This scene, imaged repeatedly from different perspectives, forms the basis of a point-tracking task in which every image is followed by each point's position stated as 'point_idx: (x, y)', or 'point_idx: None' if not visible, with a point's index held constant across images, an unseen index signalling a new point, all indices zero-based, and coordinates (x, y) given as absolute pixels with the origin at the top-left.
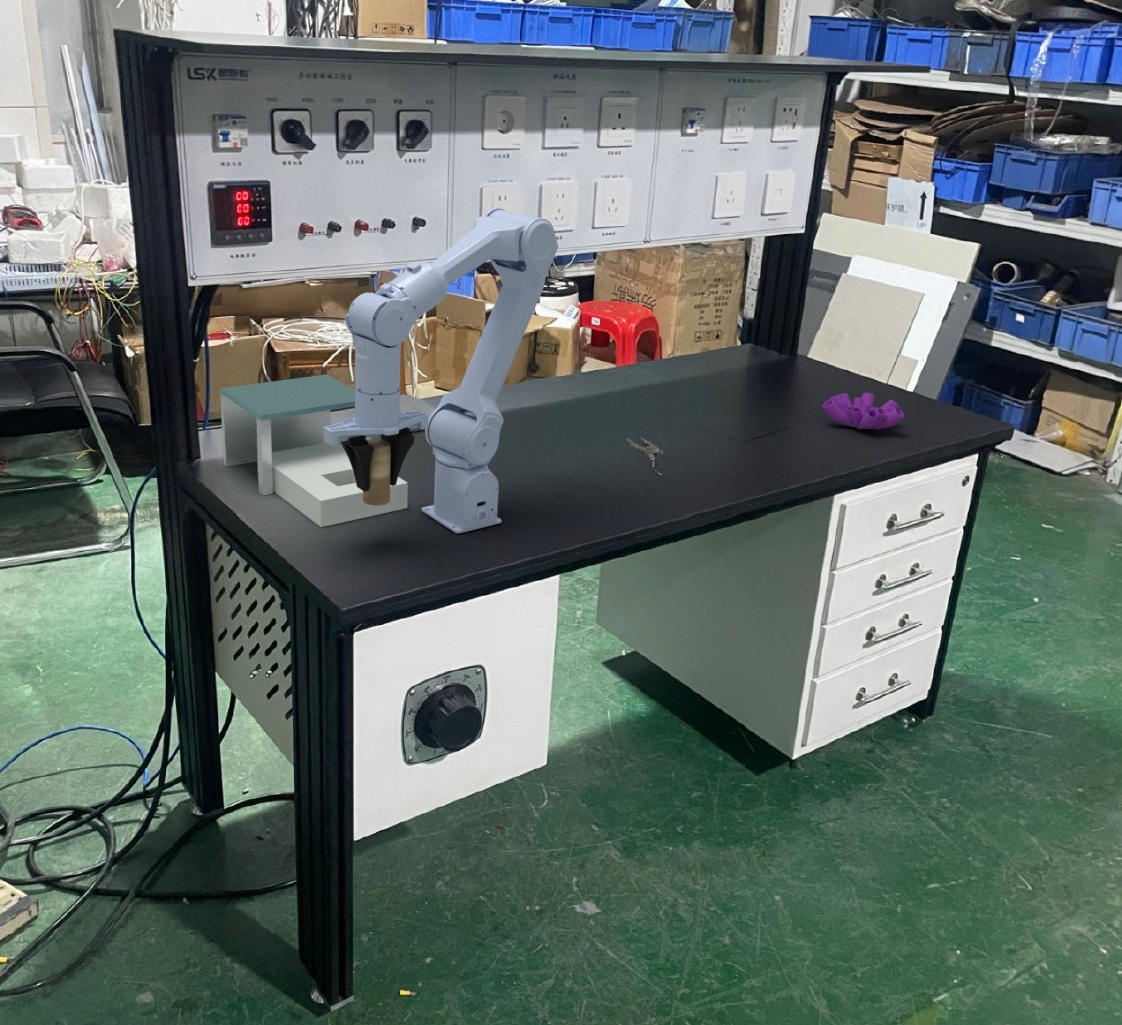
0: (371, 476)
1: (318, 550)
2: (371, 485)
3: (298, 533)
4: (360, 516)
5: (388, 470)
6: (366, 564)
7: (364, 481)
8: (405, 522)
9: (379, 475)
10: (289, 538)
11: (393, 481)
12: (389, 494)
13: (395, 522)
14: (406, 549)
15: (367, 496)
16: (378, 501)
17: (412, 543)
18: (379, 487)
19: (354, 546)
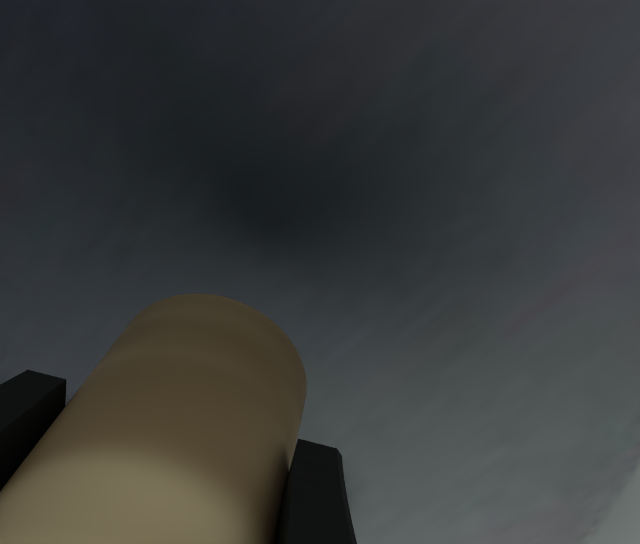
0: (246, 539)
1: (521, 363)
2: (266, 462)
3: (449, 507)
4: None
5: (37, 500)
6: (488, 102)
7: (349, 523)
8: (25, 298)
9: (178, 498)
10: (509, 503)
11: (35, 395)
12: (131, 334)
13: (63, 327)
14: (204, 85)
15: (295, 416)
16: (255, 329)
17: (134, 115)
18: (216, 402)
19: (375, 285)
